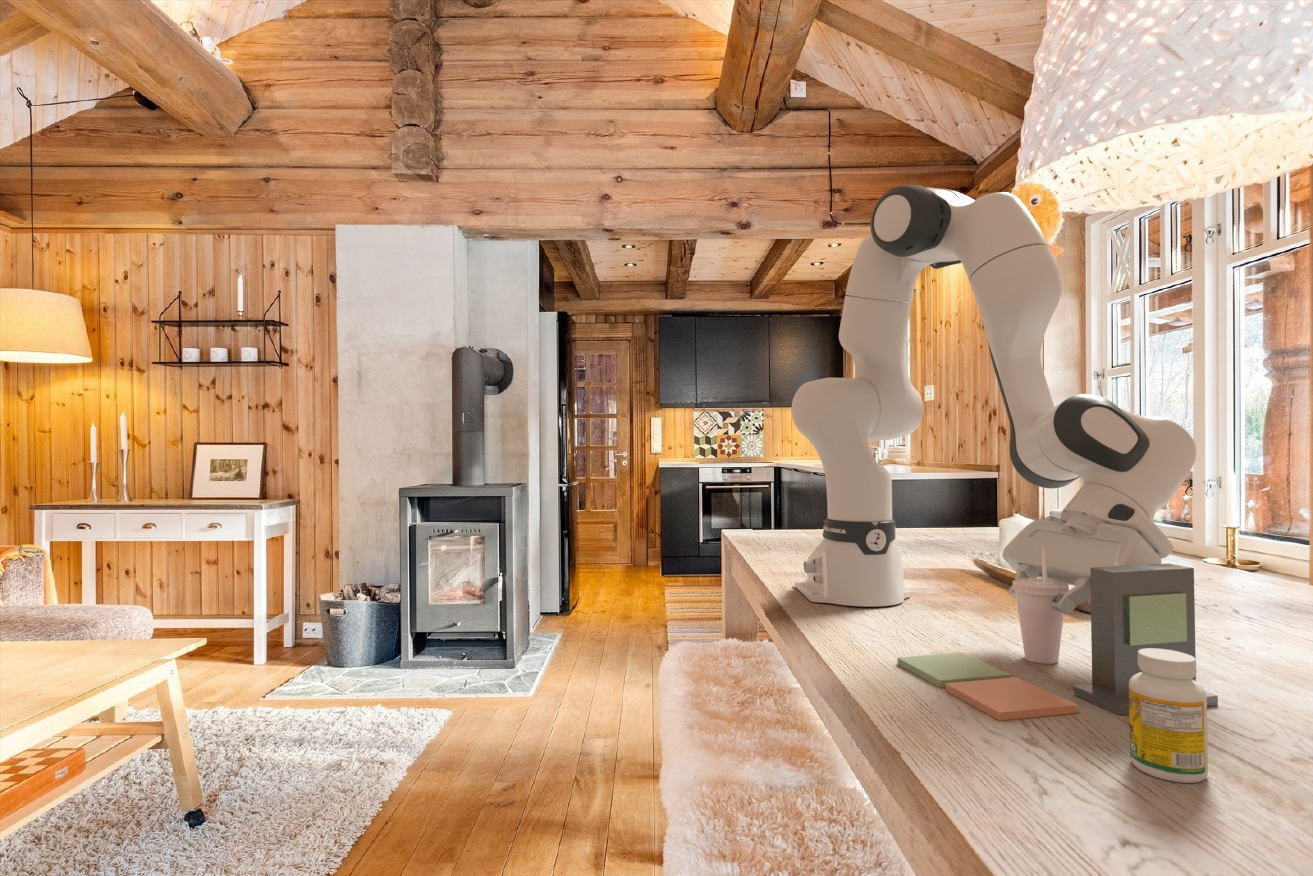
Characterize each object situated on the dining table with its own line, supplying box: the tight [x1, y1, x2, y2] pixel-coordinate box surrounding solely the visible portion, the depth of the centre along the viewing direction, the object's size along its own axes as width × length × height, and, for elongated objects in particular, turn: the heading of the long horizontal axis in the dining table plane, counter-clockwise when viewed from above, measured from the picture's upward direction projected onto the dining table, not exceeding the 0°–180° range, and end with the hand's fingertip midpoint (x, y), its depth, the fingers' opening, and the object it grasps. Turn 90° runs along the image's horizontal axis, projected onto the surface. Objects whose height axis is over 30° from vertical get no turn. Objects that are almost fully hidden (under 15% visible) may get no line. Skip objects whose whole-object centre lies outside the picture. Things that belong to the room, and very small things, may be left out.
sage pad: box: [897, 652, 1011, 688], centre depth 86 cm, size 9×9×1 cm
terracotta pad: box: [944, 676, 1079, 721], centre depth 76 cm, size 9×9×1 cm
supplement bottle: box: [1128, 648, 1209, 784], centre depth 60 cm, size 5×5×10 cm
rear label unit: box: [1073, 563, 1219, 716], centre depth 76 cm, size 6×12×14 cm, turn 102°
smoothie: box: [1012, 548, 1070, 665], centre depth 91 cm, size 6×6×14 cm
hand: (1036, 603), depth 91 cm, fingers closed on smoothie, 6 cm apart
